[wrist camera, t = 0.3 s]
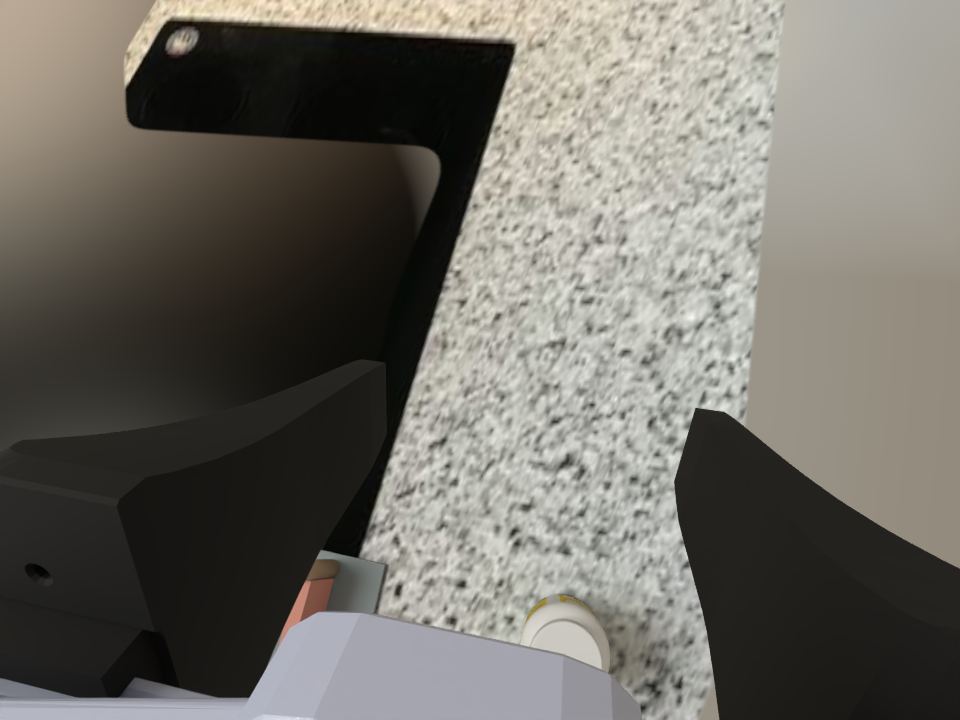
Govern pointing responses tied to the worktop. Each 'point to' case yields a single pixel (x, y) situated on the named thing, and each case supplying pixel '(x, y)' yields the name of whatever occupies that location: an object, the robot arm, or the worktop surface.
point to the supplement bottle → (567, 630)
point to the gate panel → (313, 593)
